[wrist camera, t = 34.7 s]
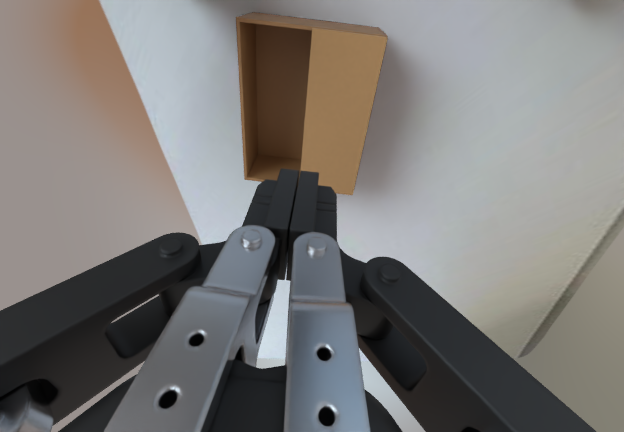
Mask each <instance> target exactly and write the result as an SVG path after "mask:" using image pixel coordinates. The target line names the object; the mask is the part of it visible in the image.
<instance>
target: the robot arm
mask: <svg viewBox="0 0 624 432" xmlns="http://www.w3.org/2000/svg"><path fill="white" fill-rule="evenodd" d="M318 180H319V173H318V172H310V171H301V172H300V178H299V170H292V169H284V168H281V169H280V172H279V176H278V179H277V180H269V179H266V180H264V181H263V182H262V183H261V184H259V185H258V187H257V189H256V192H255V195H254V197H253V199H252V203H251V205H250V207H249V210H248V212H247V215H246V217H245V220H244V222H243V225H242V227H240V228H238V229H236V230H234V231H233V232H232V233H231V234H230V236H229V237H228V239H227V241H224V242H220V243H215V244H206V245H199V243H198V241H197V240H196V239H195V237H193V236H191V235H189V234H186V233H170V234H166V235H163V236H161V237H159V238H156V239H154V240H152V241H150V242H148V243H146V244H144V245H141V246H139V247H137V248H135V249H133V250H130V251H128V252H126V253H124V254H122V255H120V256H118V257H115V258H113V259H111V260H109V261H107V262H105V263H103V264H100V265H98V266H96V267H94V268H92V269H89V270H87V271H85V272H83V273H81V274H79V275H76V276H74V277H72V278H70V279H68V280H66V281H64V282H61V283H59V284H57V285H55V286H53V287H51V288H49V289H46V290H44V291H42V292H40V293H38V294H36V295H33V296H31V297H29V298H27V299H25V300H23V301H21V302H18V303H16V304H14V305H12V306H10V307H7V308H5V309H3V310H1V311H0V432H51V429H52V426H53V425H55V424H56V423H57V422H59V421H60V420H62V419H63V418H65V417H66V416H67V415H69V414H70V413H72V412H73V411H74V410H76V409H77V408H79V407H80V406H81V405H83V404H84V403H86V402H87V401H89V400H90V399H91V398H93V397H94V396H96V395H97V394H98V393H100V392H101V391H103V390H104V389H105V388H107V387H108V386H110V385H111V384H112V383H114V382H115V381H117V380H118V379H120V378H121V377H122V376H124V375H125V374H126V373H128V372H129V371H130V370H132V369H134V368H135V367H136V366H138V365H139V364H141V363H142V362H143V361H145V362H144V364H143V366H142V367H141V369H140V371H139V372H138V374H137V375H135V376H133V377H132V378H130V379H128V380H127V381H125V382H123V383H122V384H121V385H119V386H118V387H116V388H115V389H114V390H113V391H111V392H110V393H109V394H107V395H106V396H105V397H103V398H102V399H101V400H99V401H98V402H97V403H95V404H94V405H93V406H91V407H90V408H89V409H87V410H86V411H85V412H83V413H82V414H81V415H80V416H78V417H77V418H76V419H74V420H73V421H72V422H70V423H69V424H68V425H66V426H65V427H64V428H62V429H61V430H60V431H58V432H402V431H401V429H400V428H399V426H398V425H397V424H396V422H395V420H394V419H393V418H392V416H391V415H390V414H389V412H388V411H387V410H386V409H385V408H384V407H383V405H382V404H381V403H380V402H379V401H378V400H377V399H376V398H375V397H374V396H372V395H371V394H370V393H369V392H367V391H366V390H365V389H364V383H363V375H362V368H361V361H360V354H359V348H360V350H361V351H362V352H363V353H364V355H365V356H366V357H367V358H368V360H369V361H370V362H371V363H372V365H373V366H374V367H375V368H376V370H377V371H378V372H379V373H380V375H381V376H382V377H383V378H384V380H385V381H386V382H387V384H388V385H389V386H390V387H391V389H392V390H393V391H394V392H395V394H396V395H397V396H398V397H399V399H400V400H401V401H402V402H403V404H404V405H405V406H406V407H407V409H408V410H409V411H410V412H411V414H412V415H413V416H414V417H415V419H416V420H417V421H418V422H419V424H420V425H421V426H422V427H423V429H424V430H425V431H426V432H596V431H595V430H594V429H593V428H592V427H590V426H589V425H588V424H587V423H586V422H585V421H584V420H582V419H581V418H580V417H579V416H578V415H577V414H576V413H574V412H573V411H572V410H571V409H570V408H569V407H567V406H566V405H565V404H564V403H563V402H562V401H560V400H559V399H558V398H557V397H556V396H555V395H553V394H552V393H551V392H550V391H549V390H548V389H547V388H546V387H544V386H543V385H542V384H541V383H540V382H539V381H538V380H536V379H535V378H534V377H533V376H532V375H531V374H530V373H528V372H527V371H526V370H525V369H524V368H523V367H521V366H520V365H519V364H518V363H517V362H516V361H515V360H513V359H512V358H511V357H510V356H509V355H508V354H507V353H505V352H504V351H503V350H502V349H501V348H500V347H498V346H497V345H496V344H495V343H494V342H493V341H492V340H490V339H489V338H488V337H487V336H486V335H485V334H484V333H482V332H481V331H480V330H479V329H478V328H477V327H475V326H474V325H473V324H472V323H471V322H470V321H469V320H467V319H466V318H465V317H464V316H463V315H462V314H461V313H459V312H458V311H457V310H456V309H455V308H454V307H452V306H451V305H450V304H449V303H448V302H447V301H446V300H444V299H443V298H442V297H441V296H440V295H439V294H438V293H436V292H435V291H434V290H433V289H432V288H431V287H429V286H428V285H427V284H426V283H425V282H424V281H423V280H421V279H420V278H419V277H418V276H417V275H416V274H415V273H413V272H412V271H411V270H410V269H409V268H408V267H406V266H405V265H404V264H403V263H401V262H399V261H398V260H395V259H393V258H389V257H376V258H373V259H371V260H369V261H368V262H367V263H364V262H361V261H359V260H356V259H354V258H352V257H350V256H348V255H347V254H345V253H344V252H343V251H342V250H341V249H340V247H339V245H338V243H337V212H336V211H337V205H336V204H337V201H336V193H335V192H334V190H333V189H332V187H330V186H321V185H318ZM287 262H288V263H287ZM286 268H287V278H286V280H289V281H291V282H290V294H289V309H288V326H287V342H286V359H285V365H284V366H278V367H272V368H266V369H259V368H256V362H257V356H258V351H259V347H260V344H261V340H262V337H263V333H264V330H265V327H266V323H267V320H268V316H269V313H270V309H271V306H272V302H273V298H274V293H275V290H276V285H277V280H278V279H279V280H284V279H285V274H286ZM157 294H159V296H158V297H156V298H154V299H152V300H151V301H149V302H147V303H146V304H144V305H142V306H141V307H139V308H137V309H135V310H134V311H132V312H130V313H129V314H127V315H125V316H124V317H122V318H120V319H119V320H117V321H115V322H113V323H111V322H112V321H113V320H115V319H116V318H117V317H119V316H121V315H123V314H125V313H126V312H128V311H130V310H131V309H133V308H135V307H137V306H138V305H140V304H142V303H144V302H145V301H147V300H148V299H150V298H152V297H154V296H155V295H157Z"/></svg>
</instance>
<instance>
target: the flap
mask: <svg viewBox="0 0 624 432" xmlns="http://www.w3.org/2000/svg"><path fill="white" fill-rule="evenodd" d="M387 39H388V37H383V36H375V35H367V34H359V33H351V32H343V31H335V30H327V29H318V28H312V38H311V50H310V62H309V74H308V86H307V99H306V111H305V123H304V135H303V147H302V159H301V171H310V172H318V173H319V180H318V185H321V186H330V187H332V189H333V190H334V192H335V193H339V194H347V195H353V191H354V187H355V182H356V178H357V173H358V169H359V164H360V160H361V155H362V151H363V146H364V142H365V137H366V133H367V128H368V124H369V119H370V115H371V110H372V106H373V102H374V97H375V93H376V88H377V84H378V79H379V75H380V70H381V66H382V61H383V57H384V52H385V48H386V43H387ZM301 171H300V172H301Z"/></svg>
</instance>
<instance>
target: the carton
mask: <svg viewBox="0 0 624 432" xmlns="http://www.w3.org/2000/svg"><path fill="white" fill-rule="evenodd" d="M236 28H237V46H238V65H239V84H240V102H241V121H242V139H243V158H244V177H245V180H252V181H261V182H263V181H264V180H266V179H269V180H277V179H278V176H279V172H280V169H281V168H284V169H292V170H299V178H300V171H301V159H302V147H303V135H304V123H305V111H306V99H307V86H308V74H309V62H310V50H311V38H312V28H318V29H327V30H335V31H343V32H351V33H359V34H367V35H375V36H383V37H387V35H386V34H385V33H384V32H383V31H382V30H381V29H380V28H378V27H370V26H362V25H354V24H345V23H337V22H329V21H321V20H313V19H305V18H297V17H289V16H280V15H272V14H264V13H256V12H252V13H249V14H245V15H242V16H238V17H236Z"/></svg>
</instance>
